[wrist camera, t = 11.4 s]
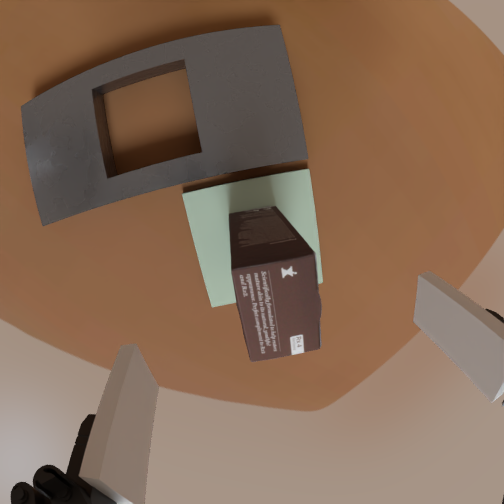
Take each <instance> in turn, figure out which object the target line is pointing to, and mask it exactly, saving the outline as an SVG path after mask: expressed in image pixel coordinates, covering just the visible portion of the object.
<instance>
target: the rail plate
mask: <svg viewBox="0 0 504 504" xmlns="http://www.w3.org/2000/svg"><path fill="white" fill-rule="evenodd" d="M185 68H186V71H187V76H188V82H189V87H190V92H191V98H192V103H193V108H194V113H195V118H196V123H197V129H198V134H199V138H200V143H201V148H202V153H197V154H193V155H189V156H185V157H181V158H177V159H173V160H169V161H165V162H161V163H158V164H154V165H151V166H147V167H144V168H140V169H137V170H134V171H130V172H127V173H124V174H121V175H118V176H117V171H116V167H115V162H114V158H113V153H112V148H111V143H110V137H109V132H108V126H107V120H106V114H105V107H104V100H103V94H105V93H108V92H110V91H113V90H116V89H118V88H121V87H124V86H127V85H130V84H133V83H136V82H139V81H142V80H145V79H148V78H152V77H155V76H158V75H162V74H166V73H169V72H173V71H177V70H181V69H185ZM21 112H22V124H23V133H24V141H25V148H26V155H27V161H28V166H29V172H30V177H31V182H32V186H33V191H34V195H35V199H36V203H37V207H38V211H39V215H40V218H41V222H42V225H43V226H45V225H48V224H51V223H53V222H56V221H59V220H61V219H64V218H67V217H70V216H73V215H76V214H79V213H82V212H85V211H88V210H91V209H94V208H97V207H100V206H103V205H106V204H109V203H113V202H116V201H119V200H123V199H126V198H129V197H133V196H136V195H140V194H144V193H147V192H151V191H155V190H158V189H162V188H166V187H170V186H174V185H178V184H182V183H186V182H190V181H194V180H199V179H203V178H207V177H212V176H217V175H221V174H226V173H231V172H236V171H241V170H246V169H251V168H256V167H262V166H267V165H273V164H279V163H285V162H291V161H298V160H304V159H308V153H307V148H306V142H305V136H304V131H303V125H302V120H301V115H300V110H299V105H298V100H297V95H296V90H295V86H294V81H293V77H292V72H291V68H290V63H289V59H288V55H287V51H286V47H285V43H284V39H283V35H282V32H281V28H280V25H270V26H257V27H247V28H239V29H231V30H224V31H218V32H212V33H206V34H201V35H196V36H192V37H187V38H183V39H178V40H174V41H170V42H167V43H163V44H159V45H156V46H152V47H149V48H146V49H143V50H140V51H136V52H133V53H131V54H128V55H125V56H122V57H119V58H117V59H114V60H111V61H109V62H106V63H104V64H101V65H99V66H97V67H94V68H92V69H90V70H87V71H85V72H83V73H81V74H79V75H76V76H74V77H72V78H70V79H68V80H66V81H64V82H62V83H60V84H58V85H57V86H55V87H53V88H51V89H49V90H47V91H46V92H44V93H42V94H40V95H39V96H37V97H35V98H34V99H32V100H30V101H29V102H27V103H25V104H24V105H22V106H21Z"/></svg>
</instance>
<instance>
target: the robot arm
mask: <svg viewBox="0 0 504 504" xmlns="http://www.w3.org/2000/svg"><path fill="white" fill-rule="evenodd" d="M413 322H414V323H415V324H416V325H417V326H418V327H419V328H420V329H421V330H422V331H423V332H424V333H425V334H426V335H427V336H428V337H429V338H430V339H431V340H432V341H433V342H435V344H436V345H437V346H438V347H439V348H440V349H441V350H442V351H443V352H444V353H445V354H446V355H447V356H448V357H449V358H450V359H451V360H452V361H453V362H454V363H455V364H456V365H457V366H458V367H459V368H460V369H461V370H462V371H463V373H465V375H466V376H467V377H468V378H469V379H470V380H471V381H472V382H473V383H474V384H475V386H476V387H477V388H478V389H479V390H480V391H481V392H482V393H483V394H484V395H485V397H486V398H487V399H488V400H489V401H490V402H491V403H492V402H494V401H495V400H496V399H497V398H499V397H500V396H501V395H502V394H503V392H504V318H503V317H501V316H500V315H499V314H497V313H496V312H494V311H491V310H489V309H484V308H482V307H481V306H480V305H478V304H477V303H476V302H474V301H473V300H471V299H470V298H469V297H467V296H466V295H464V294H463V293H462V292H460V291H459V290H457V289H456V288H454V287H453V286H452V285H450V284H449V283H447V282H446V281H444V280H443V279H441V278H440V277H438V276H437V275H435V274H434V273H432V272H431V271H428V272H425V273H423V274H420V275H418V286H417V296H416V304H415V312H414V319H413ZM158 389H159V386H158V384H157V382H156V381H155V379H154V377H153V375H152V373H151V372H150V370H149V368H148V366H147V364H146V362H145V360H144V358H143V356H142V354H141V352H140V350H139V348H138V346H137V344H129V345H121V347H120V349H119V352H118V355H117V357H116V360H115V362H114V365H113V368H112V370H111V373H110V376H109V379H108V381H107V384H106V387H105V390H104V393H103V395H102V399H101V401H100V404H99V407H98V411H97V413H96V415H94V414H89V415H88V416H87V418H86V419H85V420H84V421H83V422H82V424H81V426H80V429H79V432H78V437H77V439H76V442H75V444H76V445H74V448H73V451H72V455H71V458H70V461H69V465H68V469H67V472H66V474H64V473H63V472H62V471H61V470H60V469H58V468H57V467H55V466H53V465H45V466H42V467H41V468H39V469H38V470H37V471H36V473H35V475H34V478H33V487H34V488H33V487H32V486H31V485H29V484H28V483H26V482H19V483H17V484H16V485H15V486H14V487H13V489H12V491H11V504H117V503H118V504H145V494H146V482H147V471H148V461H149V453H150V445H151V437H152V429H153V422H154V414H155V408H156V402H157V395H158ZM502 406H504V400H503V402H502ZM502 504H504V497H503V502H502Z"/></svg>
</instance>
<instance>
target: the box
mask: <svg viewBox="0 0 504 504" xmlns="http://www.w3.org/2000/svg"><path fill="white" fill-rule="evenodd" d="M229 233H230V253H231V274H232V280H233V285H234V291H235V298H236V304H237V308H238V311H239V315H240V319H241V323H242V328H243V334H244V338H245V342H246V346H247V349H248V353H249V357H250V360H251V362H256V361H262V360H269V359H275V358H279V357H285V356H289V355H294V354H299V353H304V352H308V351H313V350H318V349H320V347H321V329H320V317H321V311H322V304H321V298H320V295H319V288H318V272H317V255H316V253H315V252H314V251H313V249H312V248H311V247H310V246H309V245H308V243H307V242H306V241H305V240H304V238H303V237H302V236H301V235H300V234H299V232H298V231H297V230H296V229H295V228H294V227H293V225H292V224H291V223H290V222H289V221H288V220H287V218H286V217H285V216H284V215H283V214H282V212H281V211H280V210H279V209H278V208H277V207H276V206H266V207H262V208H255V209H251V210H245V211H240V212H234V213H230V214H229Z"/></svg>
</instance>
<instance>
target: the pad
mask: <svg viewBox="0 0 504 504" xmlns="http://www.w3.org/2000/svg"><path fill="white" fill-rule="evenodd" d="M182 195H183V200H184V204H185V208H186V212H187V216H188V220H189V224H190V228H191V232H192V236H193V240H194V244H195V248H196V252H197V255H198V259H199V263H200V267H201V270H202V274H203V278H204V281H205V285H206V288H207V292H208V295H209V299H210V302H211V306H212V307H216V306H221V305H226V304H231V303H236V298H235V291H234V285H233V280H232V274H231V253H230V233H229V214H230V213H234V212H240V211H245V210H251V209H255V208H262V207H266V206H276V207H277V208H278V209H279V210H280V211H281V212H282V214H283V215H284V216H285V217H286V218H287V220H288V221H289V222H290V223H291V224H292V225H293V227H294V228H295V229H296V230H297V231H298V232H299V234H300V235H301V236H302V237H303V238H304V240H305V241H306V242H307V243H308V245H309V246H310V247H311V248H312V249H313V251H314V252H315V253H316V255H317V272H318V284H320V283H323V279H322V268H321V258H320V248H319V239H318V230H317V222H316V214H315V206H314V199H313V192H312V185H311V178H310V171H309V169H302V170H296V171H289V172H284V173H278V174H272V175H267V176H261V177H256V178H251V179H246V180H241V181H236V182H231V183H226V184H221V185H217V186H212V187H208V188H203V189H199V190H194V191H190V192H186V193H183V194H182Z"/></svg>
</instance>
